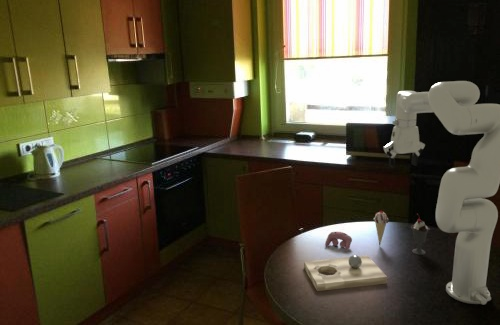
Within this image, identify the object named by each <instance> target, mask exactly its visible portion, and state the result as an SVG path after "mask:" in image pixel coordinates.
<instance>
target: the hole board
mask: <svg viewBox="0 0 500 325" xmlns="http://www.w3.org/2000/svg"><path fill="white" fill-rule="evenodd" d="M358 256H359V257H360V258H361V260H362V264H361V266H360V267H359V268H352V267H351V266H350V265H349V262H348V261H349V258H350V257H351V256H346V257H337V258H336V257H335V258H327V259H326V258H325V259H318V260H306V261H304V262H303V269H304V270H305V272H306V274H307V275H308V277H309V279H310V280H311V283H312V285H313V286H314V288H315V290H316V291H317V292H321V291H322V292H323V291H329V290H340V289H349V288H357V287H358V288H359V287H367V286H375V285H382V284H387V282H388V276H387V275H386V274H385V273H384V271H383V270H382V269H381V268H380V267H379V266H378V265H377V264H376V263H375V262H374V261H373V260H372V258H370V256H369V255H367V254H365V255H358ZM323 273H329V274H330V275H329V274H328V275H326V274H323Z"/></svg>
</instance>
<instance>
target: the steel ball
mask: <svg viewBox="0 0 500 325" xmlns="http://www.w3.org/2000/svg"><path fill="white" fill-rule="evenodd" d="M359 256H360V255H357V254H356V255H355V254H354V255H351V256H349V257H350V258H349V261H348V262H349V265H350V266H351V267H352V268H359V267H360V266H361V264H362V260H361V258H360V257H359Z"/></svg>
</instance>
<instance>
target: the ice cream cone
mask: <svg viewBox="0 0 500 325" xmlns="http://www.w3.org/2000/svg"><path fill="white" fill-rule="evenodd" d="M373 221H374V222H375V228H376V234H377V238H378V240H377V241H378V244H379V247H380V246H381V244H382V239H383V236H384V232H385V230H386V226H387V224H388V223H389V218H388V216H387V213H386V212H384V211H383V210H379V212H376V213H375V216H374V217H373Z"/></svg>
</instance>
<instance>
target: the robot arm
mask: <svg viewBox="0 0 500 325" xmlns="http://www.w3.org/2000/svg"><path fill="white" fill-rule="evenodd" d="M480 95H481V92H480V89H479V87H478V85H476V84H475V83H473V82H471V81H469V80H468V81H467V80H455V81H440V82H437V83H434V84H433V85H432V86H431V87H430V89H429V91H421V92H419V91H414V90H400V91H398V92H397V93H396V105H395V106H396V107H395V119H394V121H393V120H392V125H394V126H393V128H392V133H391V137H390V142H389V143H387V144H386V145H385V146H383V147H382V148H383V151H384V153H385V155H387V157H388V166H389V168H392V169H395V167H396V158H395V157H396V155H397V154H411V153H412V154H411V160H410V162H411V163H410V164H411V165H412V166H415V167H417V166H418V163H419V156H420V155H421V153H422V152H423V151H424V148H425V146H426V144H425V143H423V142H422V141H420V134H419V133H420V132H419V126H417V114H423V113H424V114H425V113H434V115H435V116H436V117H437V118H438V120H439V121H440V122H441V124H442V125H443V127H444V128H445V130H447V131H448V132H449V133H451V134H452V135H457V136H465V135H478V134H483V137H481V139H479V141H477V143H476V145H475V146H474V148H473V149H472V152H471V157H470V158H471V159H470V160H469V164H468V165H467V166H458V167H452V168H450V169H447V170H446V172H445V173H444V174H443V176H442V178H441V180H440V185H439V189H438V197H437V201H436V202H437V203H436V208H435V222H436V225H437V227H438V229H440V230H441V231H442V232H444V233H449V234H451V233H452V234H455V233H458V234H457V236H456V238H455V248H454V256H453V267H452V268H453V269H452V275H451V276H452V278H451V279H452V280H451V281H449V282H448V283H447V284H446V285H445V291H446V293H447V294H448V295H449V296H450V297H451V298H452V299H455V300H457V301H459V302H462V303H466V304H469V305H470V304H471V305H486V304H487V303H488V302H490V301H491V300H492V297H491V293H490V290H488V286H487V277H488V268H489V260H490V253H491V252H490V251H491V244H492V238H493V234H494V231H495V228H496V225H497V222H498V219H499V218H498V217H499V211H498V208H497V206H496V205H495V204H494V202H492V201H491V200H489V199H486V198H490V197H493V196H495V195H496V194H497V192H498V190H499V186H500V104H498V103H477V102H478V100H479V99H480ZM476 103H477V104H476ZM389 149H390V150H389Z"/></svg>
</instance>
